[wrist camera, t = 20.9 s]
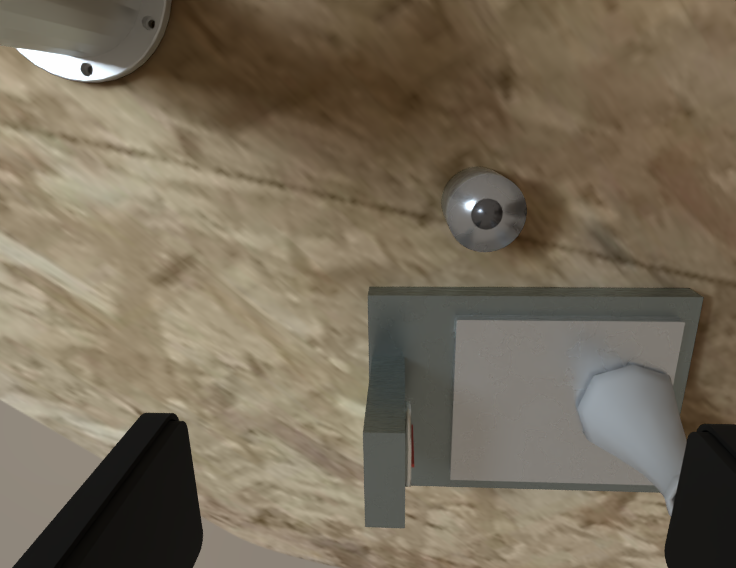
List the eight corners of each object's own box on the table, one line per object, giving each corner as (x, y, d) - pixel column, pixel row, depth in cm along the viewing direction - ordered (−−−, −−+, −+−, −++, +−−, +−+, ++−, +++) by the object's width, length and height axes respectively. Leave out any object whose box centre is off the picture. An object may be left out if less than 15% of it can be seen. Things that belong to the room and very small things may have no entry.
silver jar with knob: (440, 235, 39) (446, 252, 34) (442, 167, 38) (448, 175, 33) (508, 234, 39) (524, 251, 34) (512, 165, 37) (529, 173, 32)
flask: (668, 447, 40) (750, 551, 31) (572, 446, 41) (623, 549, 31) (682, 362, 38) (775, 447, 29) (580, 363, 38) (638, 447, 29)
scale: (369, 286, 41) (356, 356, 29) (689, 288, 39) (805, 361, 28) (372, 468, 46) (362, 586, 35) (653, 476, 45) (738, 602, 33)
